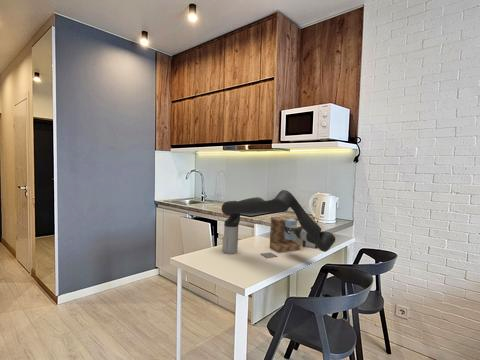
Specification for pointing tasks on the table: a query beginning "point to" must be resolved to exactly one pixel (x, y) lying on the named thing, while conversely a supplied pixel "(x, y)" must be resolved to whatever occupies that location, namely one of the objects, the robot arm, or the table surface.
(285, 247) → the shelf
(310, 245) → the protein box
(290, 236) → the carton
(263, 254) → the mat
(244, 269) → the table surface
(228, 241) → the robot arm
